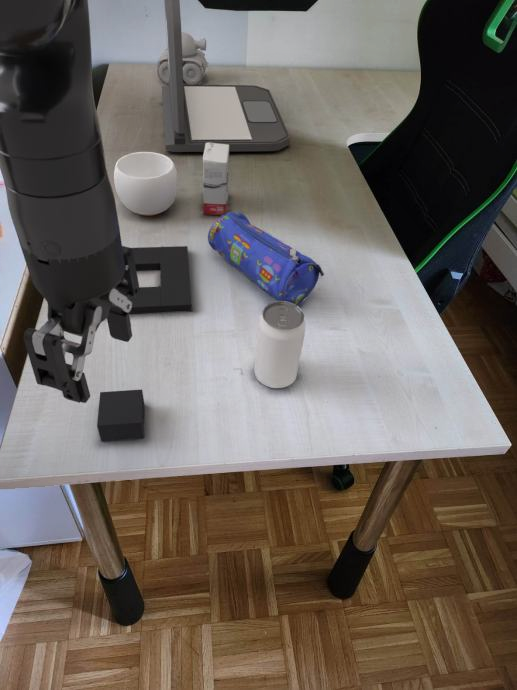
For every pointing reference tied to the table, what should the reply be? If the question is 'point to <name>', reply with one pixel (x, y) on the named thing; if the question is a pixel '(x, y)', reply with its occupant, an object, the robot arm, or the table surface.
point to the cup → (146, 182)
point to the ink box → (215, 178)
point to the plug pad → (121, 415)
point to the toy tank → (186, 61)
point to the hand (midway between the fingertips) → (101, 366)
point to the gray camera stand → (215, 107)
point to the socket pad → (163, 280)
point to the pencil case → (264, 258)
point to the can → (279, 344)
